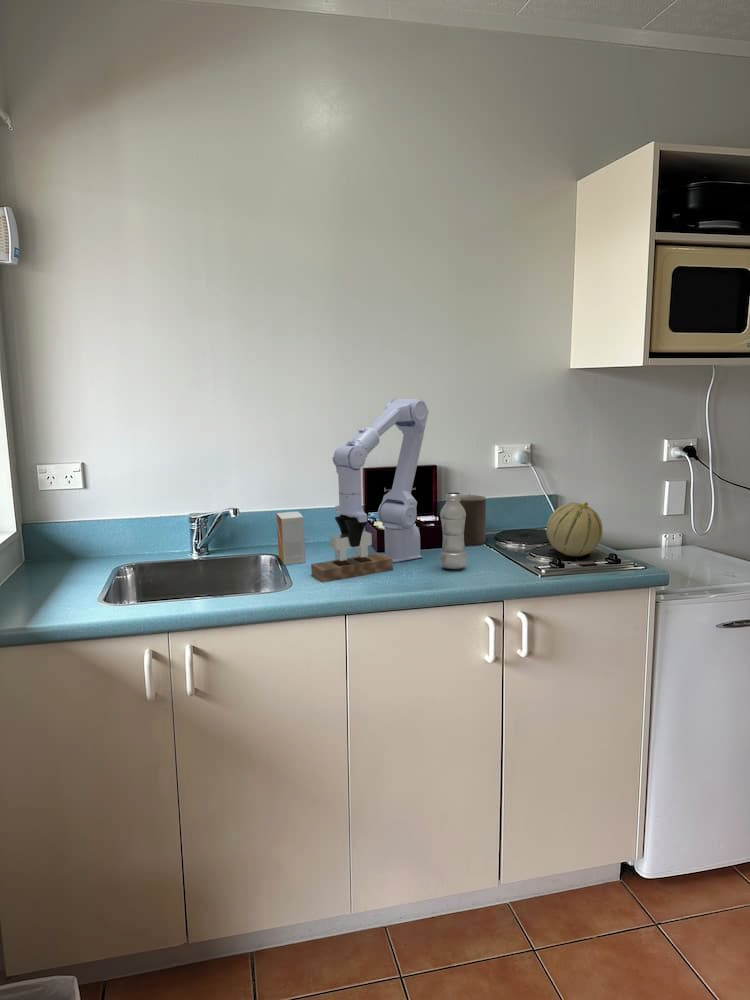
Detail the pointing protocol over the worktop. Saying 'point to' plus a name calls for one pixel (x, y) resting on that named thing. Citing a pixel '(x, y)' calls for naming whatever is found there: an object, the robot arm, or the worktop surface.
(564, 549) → the cantaloupe
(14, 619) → the worktop surface
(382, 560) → the walnut rail
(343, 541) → the pale wooden bridge block
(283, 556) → the small box
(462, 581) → the worktop surface
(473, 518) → the pillar candle
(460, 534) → the plastic bottle
